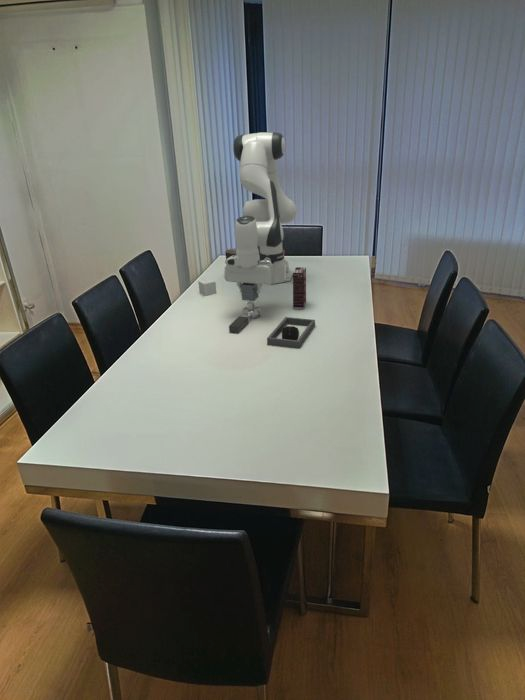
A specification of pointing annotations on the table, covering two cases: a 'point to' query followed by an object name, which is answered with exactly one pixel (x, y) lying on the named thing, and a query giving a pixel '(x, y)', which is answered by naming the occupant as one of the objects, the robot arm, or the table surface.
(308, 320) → the gray rectangular frame
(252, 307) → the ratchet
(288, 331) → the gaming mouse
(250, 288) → the blue gray block
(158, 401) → the table surface
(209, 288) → the light grey cube
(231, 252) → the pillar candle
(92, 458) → the table surface
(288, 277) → the robot arm
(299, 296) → the supplement box
